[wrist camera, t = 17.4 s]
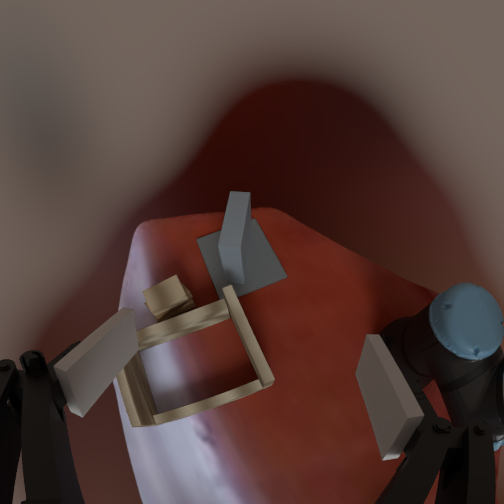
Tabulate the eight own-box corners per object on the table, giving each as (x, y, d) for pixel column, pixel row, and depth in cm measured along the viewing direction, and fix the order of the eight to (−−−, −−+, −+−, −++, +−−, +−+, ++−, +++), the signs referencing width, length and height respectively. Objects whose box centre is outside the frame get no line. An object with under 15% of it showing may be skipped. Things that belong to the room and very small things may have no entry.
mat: (255, 219, 65) (255, 218, 64) (287, 277, 57) (287, 275, 56) (196, 240, 62) (196, 239, 61) (221, 303, 54) (221, 302, 53)
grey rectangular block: (251, 234, 62) (250, 192, 51) (244, 284, 55) (240, 247, 44) (235, 233, 62) (230, 191, 51) (226, 282, 56) (217, 245, 45)
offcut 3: (186, 289, 56) (183, 284, 54) (196, 306, 54) (193, 301, 52) (152, 307, 54) (148, 302, 52) (161, 325, 52) (157, 321, 50)
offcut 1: (179, 280, 52) (176, 274, 50) (188, 299, 50) (185, 294, 48) (146, 296, 50) (142, 291, 48) (154, 316, 48) (150, 311, 46)
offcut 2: (179, 282, 54) (175, 276, 52) (192, 297, 53) (190, 291, 51) (148, 308, 51) (144, 303, 49) (161, 324, 50) (157, 320, 48)
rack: (236, 307, 53) (231, 284, 45) (271, 385, 45) (274, 379, 37) (129, 346, 49) (105, 331, 41) (154, 425, 41) (132, 427, 32)
